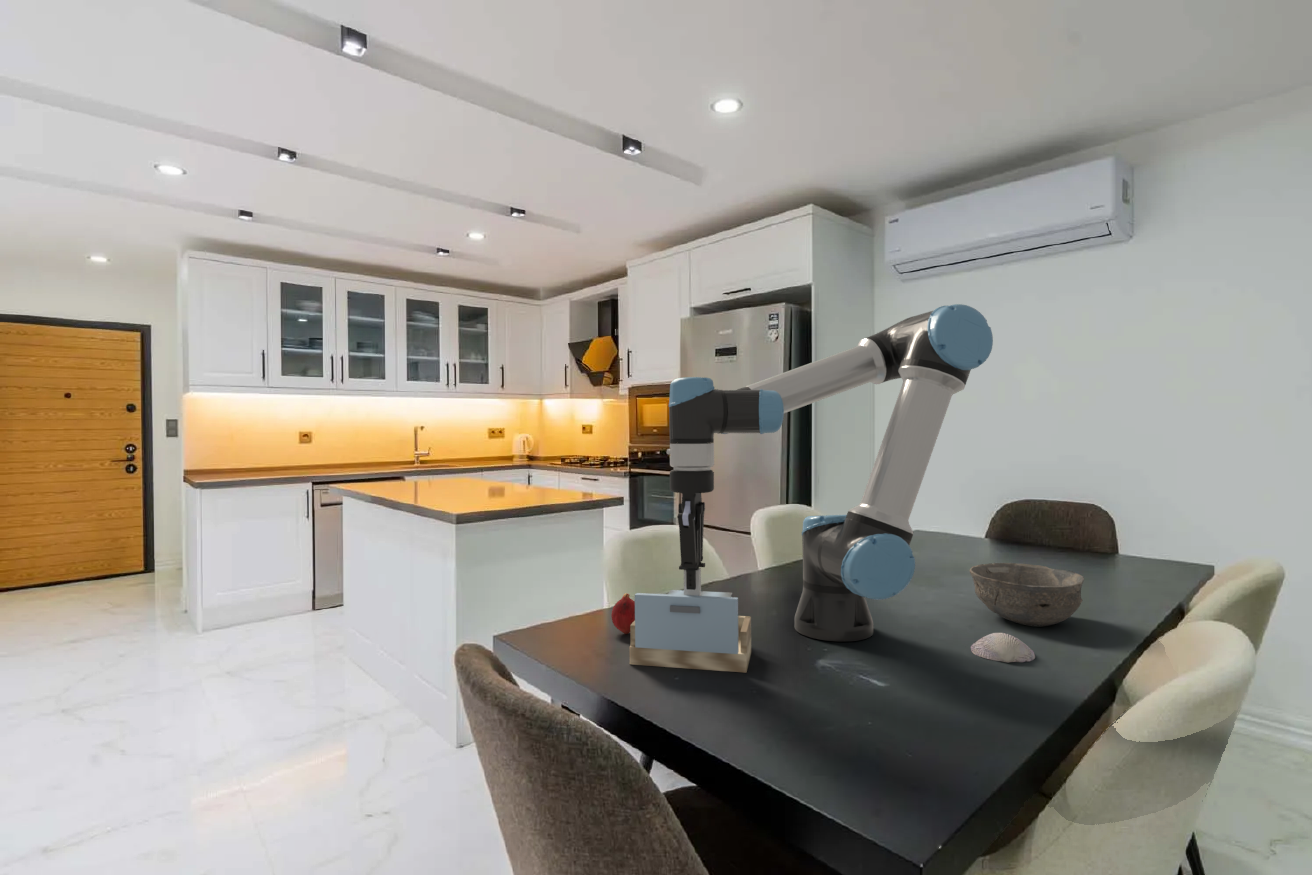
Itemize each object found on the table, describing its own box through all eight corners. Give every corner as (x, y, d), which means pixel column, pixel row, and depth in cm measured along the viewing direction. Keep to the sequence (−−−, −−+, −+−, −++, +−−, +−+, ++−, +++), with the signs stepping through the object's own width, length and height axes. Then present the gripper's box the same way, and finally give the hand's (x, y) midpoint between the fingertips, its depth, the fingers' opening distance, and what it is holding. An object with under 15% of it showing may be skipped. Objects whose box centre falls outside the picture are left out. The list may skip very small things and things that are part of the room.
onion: (637, 639, 125) (636, 597, 125) (608, 637, 126) (607, 596, 126) (643, 630, 130) (643, 590, 130) (615, 628, 132) (615, 589, 132)
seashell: (975, 645, 111) (966, 616, 120) (975, 673, 112) (966, 643, 121) (1042, 649, 108) (1028, 619, 117) (1042, 678, 109) (1028, 647, 118)
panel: (738, 651, 108) (738, 597, 108) (737, 655, 106) (736, 600, 106) (637, 645, 111) (636, 592, 111) (634, 648, 110) (633, 595, 110)
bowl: (973, 629, 128) (973, 579, 128) (966, 603, 148) (966, 559, 147) (1097, 641, 121) (1097, 587, 121) (1072, 612, 140) (1072, 566, 140)
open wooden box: (753, 640, 123) (753, 593, 123) (746, 672, 107) (745, 618, 107) (651, 634, 128) (651, 588, 128) (629, 664, 111) (628, 612, 111)
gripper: (677, 466, 118) (678, 596, 118) (661, 470, 105) (662, 616, 105) (718, 466, 116) (719, 598, 116) (707, 471, 103) (708, 618, 103)
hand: (692, 606), depth 111 cm, fingers closed
